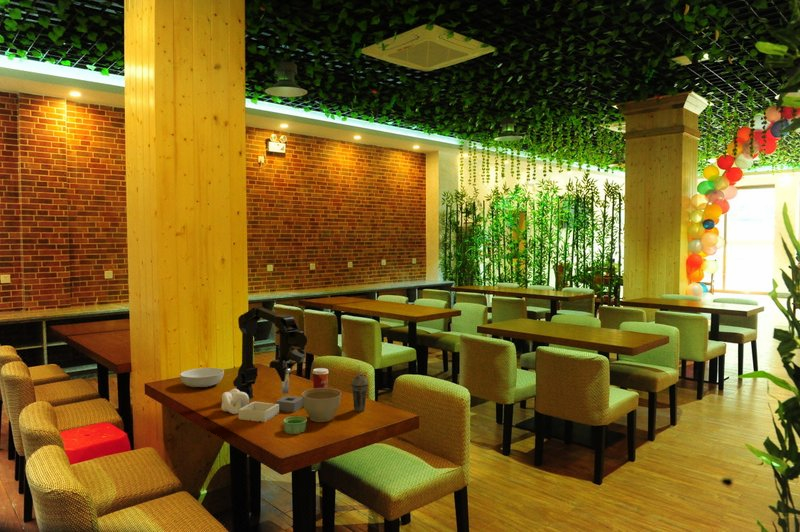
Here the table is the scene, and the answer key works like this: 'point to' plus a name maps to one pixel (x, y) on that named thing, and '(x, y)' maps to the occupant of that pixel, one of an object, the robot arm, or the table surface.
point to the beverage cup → (359, 391)
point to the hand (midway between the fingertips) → (285, 380)
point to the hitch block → (290, 403)
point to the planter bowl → (321, 403)
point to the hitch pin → (286, 382)
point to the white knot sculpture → (234, 401)
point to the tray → (258, 411)
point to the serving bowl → (202, 377)
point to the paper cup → (320, 377)
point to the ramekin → (295, 424)
